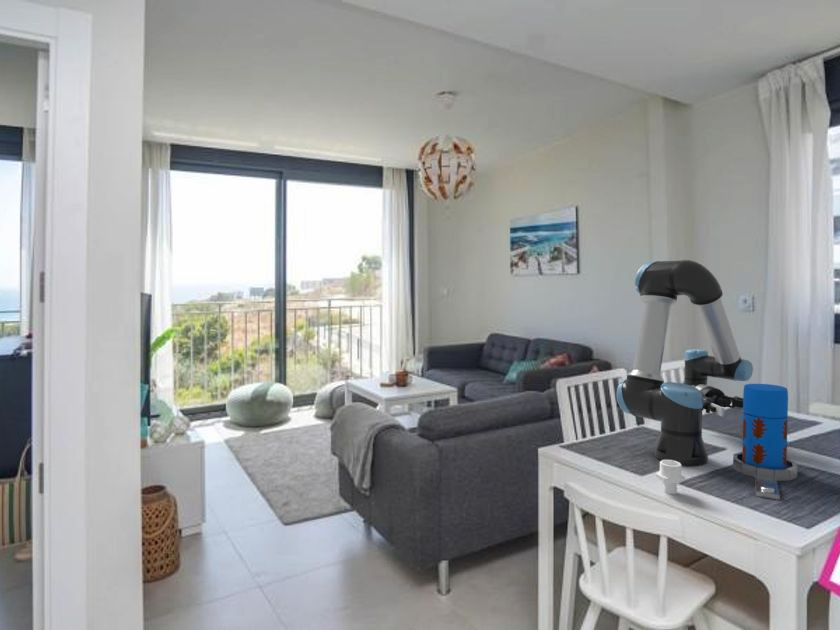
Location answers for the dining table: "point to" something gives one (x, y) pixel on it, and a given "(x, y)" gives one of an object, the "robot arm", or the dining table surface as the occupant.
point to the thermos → (765, 425)
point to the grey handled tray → (766, 476)
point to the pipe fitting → (670, 475)
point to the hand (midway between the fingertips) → (745, 412)
